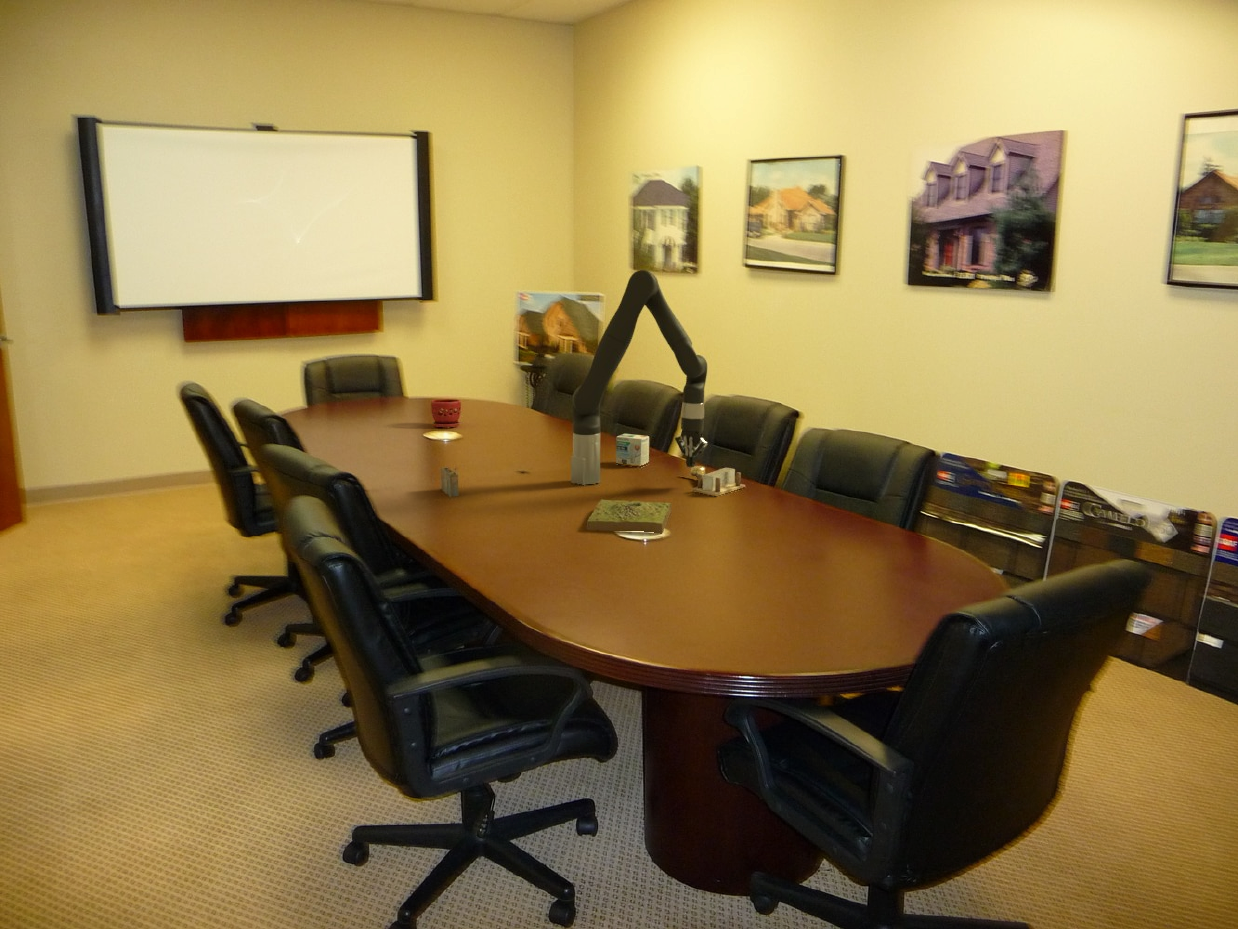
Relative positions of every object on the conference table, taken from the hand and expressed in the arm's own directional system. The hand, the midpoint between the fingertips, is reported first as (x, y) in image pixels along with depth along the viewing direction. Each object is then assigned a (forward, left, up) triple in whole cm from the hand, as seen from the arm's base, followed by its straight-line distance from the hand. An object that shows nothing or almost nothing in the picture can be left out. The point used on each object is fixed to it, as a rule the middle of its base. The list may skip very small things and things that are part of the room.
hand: (690, 466), depth 326 cm
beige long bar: (+8, +2, -6) cm, 10 cm away
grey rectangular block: (+3, -10, -6) cm, 12 cm away
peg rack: (+3, -10, -7) cm, 13 cm away
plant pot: (+11, +148, -7) cm, 148 cm away
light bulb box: (+12, +37, -7) cm, 39 cm away
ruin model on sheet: (-62, +50, -7) cm, 80 cm away
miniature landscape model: (-45, -14, -8) cm, 48 cm away
